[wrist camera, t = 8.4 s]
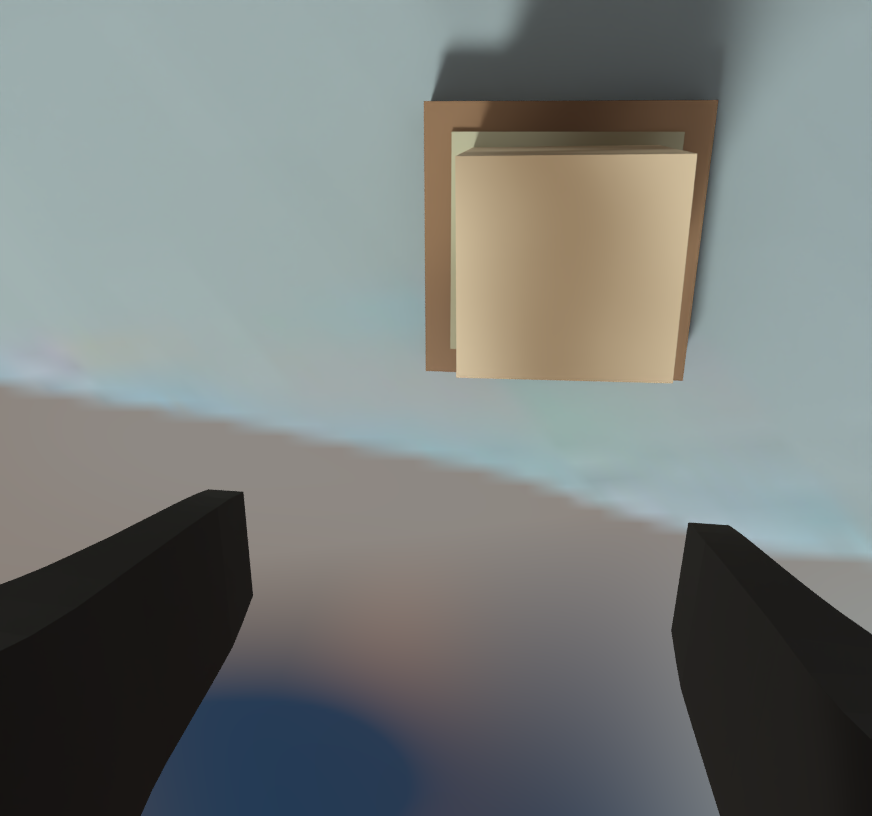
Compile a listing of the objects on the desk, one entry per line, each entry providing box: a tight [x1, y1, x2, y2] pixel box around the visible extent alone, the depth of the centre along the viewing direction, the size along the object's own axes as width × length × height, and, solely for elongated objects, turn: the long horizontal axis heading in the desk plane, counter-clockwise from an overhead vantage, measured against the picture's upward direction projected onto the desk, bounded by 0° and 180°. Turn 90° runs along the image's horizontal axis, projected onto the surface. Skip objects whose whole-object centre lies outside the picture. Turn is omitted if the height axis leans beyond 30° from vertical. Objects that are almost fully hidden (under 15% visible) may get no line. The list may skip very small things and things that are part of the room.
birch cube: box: [455, 145, 697, 383], centre depth 17 cm, size 4×4×4 cm
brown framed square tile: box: [424, 100, 718, 381], centre depth 20 cm, size 7×7×1 cm
